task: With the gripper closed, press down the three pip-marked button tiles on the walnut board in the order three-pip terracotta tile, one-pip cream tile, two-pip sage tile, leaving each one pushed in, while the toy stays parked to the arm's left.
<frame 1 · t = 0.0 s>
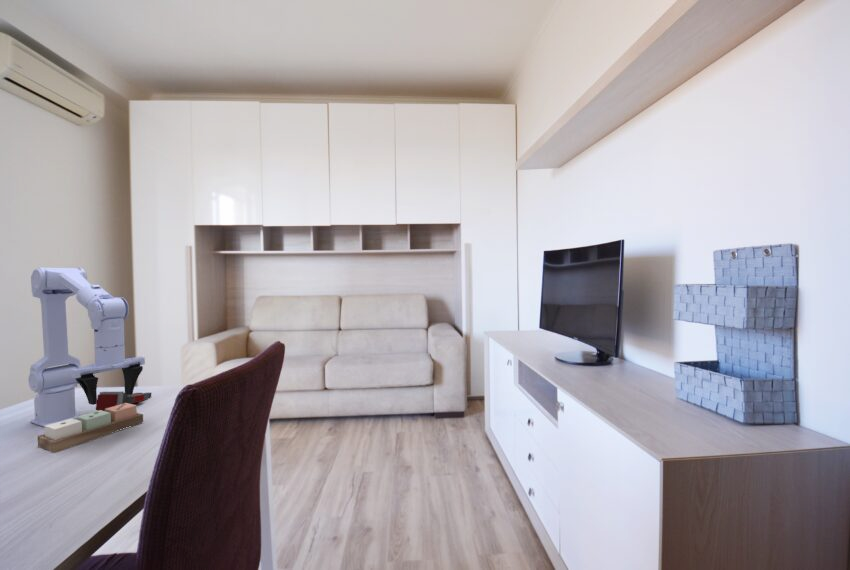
hand: (111, 398, 91), 10 cm above the table, tool pointing down, fingers open, 7 cm apart
toy: (125, 406, 115), on the table
board: (94, 433, 94), on the table
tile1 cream: (63, 430, 89), point 3 cm above the table, slide at 0.0 cm
tile3 terracotta: (121, 412, 100), point 3 cm above the table, slide at 0.0 cm
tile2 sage: (94, 421, 94), point 3 cm above the table, slide at 0.0 cm
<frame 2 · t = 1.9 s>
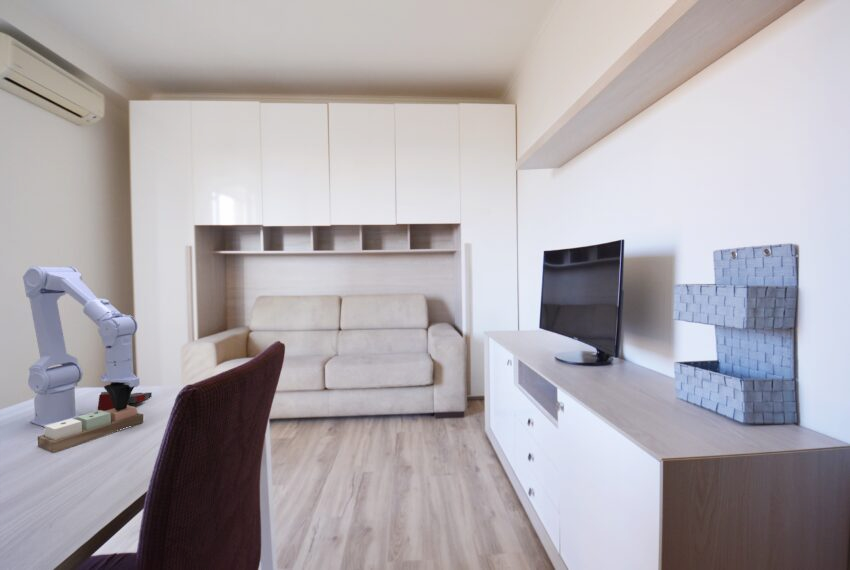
hand: (121, 409, 100), 4 cm above the table, tool pointing down, fingers closed, pressing on tile3 terracotta
tile3 terracotta: (121, 415, 100), point 3 cm above the table, slide at 0.6 cm, touching gripper
everything else where it was.
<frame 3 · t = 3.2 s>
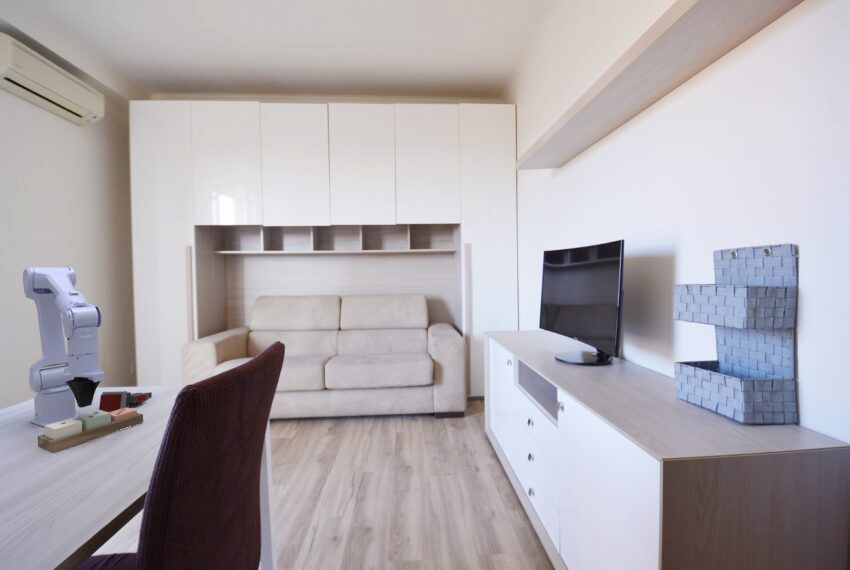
hand: (85, 406, 92), 8 cm above the table, tool pointing down, fingers closed
tile3 terracotta: (121, 417, 100), point 2 cm above the table, slide at 1.3 cm
everything else where it was.
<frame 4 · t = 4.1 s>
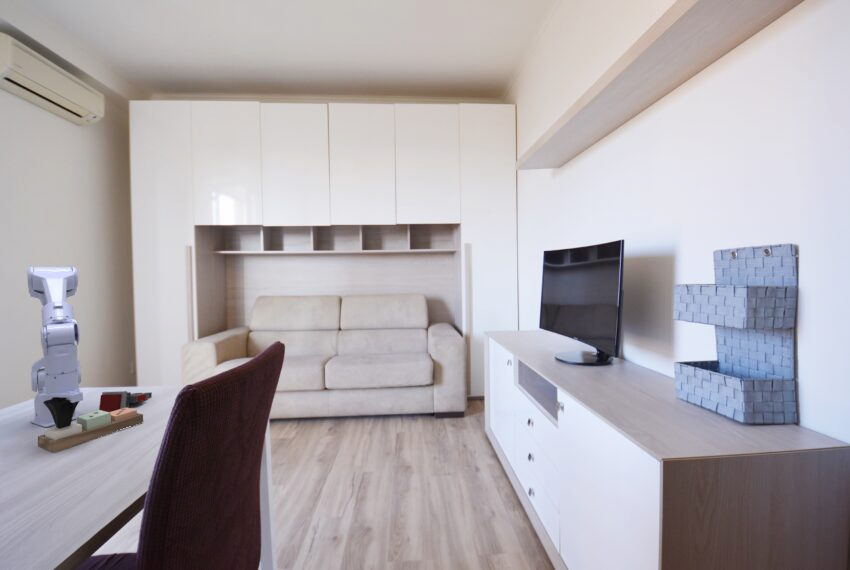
hand: (63, 426, 89), 4 cm above the table, tool pointing down, fingers closed, pressing on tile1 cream
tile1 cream: (63, 433, 89), point 2 cm above the table, slide at 0.9 cm, touching gripper
everything else where it was.
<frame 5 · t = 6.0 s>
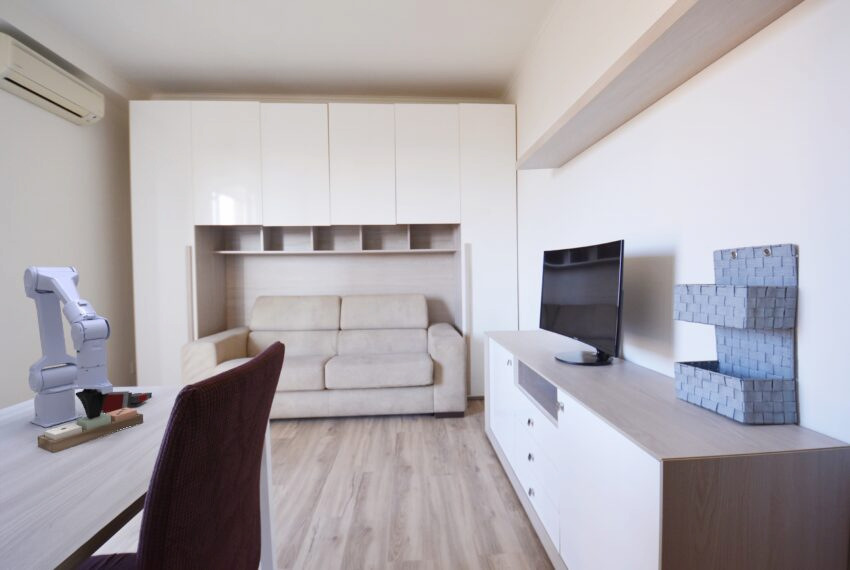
hand: (93, 417, 94), 4 cm above the table, tool pointing down, fingers closed, pressing on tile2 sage
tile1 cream: (63, 435, 89), point 2 cm above the table, slide at 1.3 cm
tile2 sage: (94, 423, 94), point 3 cm above the table, slide at 0.7 cm, touching gripper
everything else where it was.
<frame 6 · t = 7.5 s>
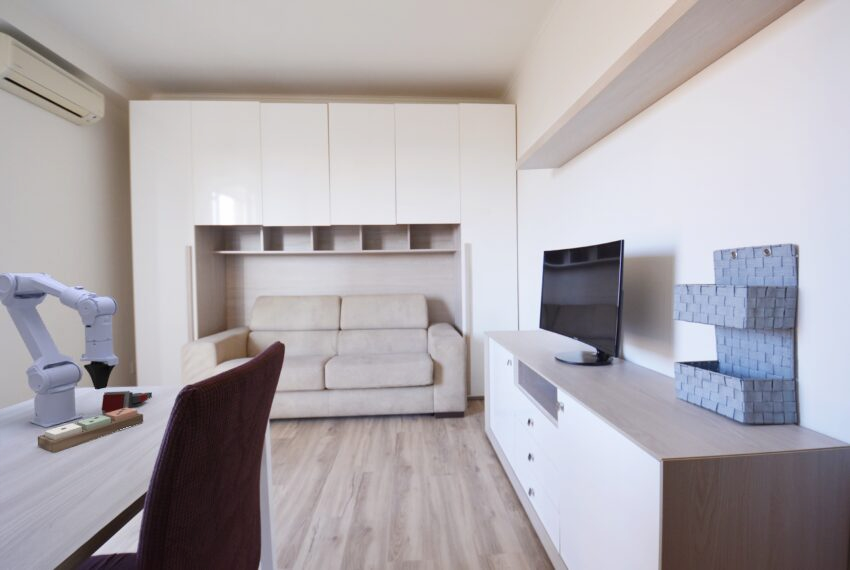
hand: (100, 388, 101), 10 cm above the table, tool pointing down, fingers closed
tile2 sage: (94, 426, 94), point 2 cm above the table, slide at 1.3 cm
everything else where it was.
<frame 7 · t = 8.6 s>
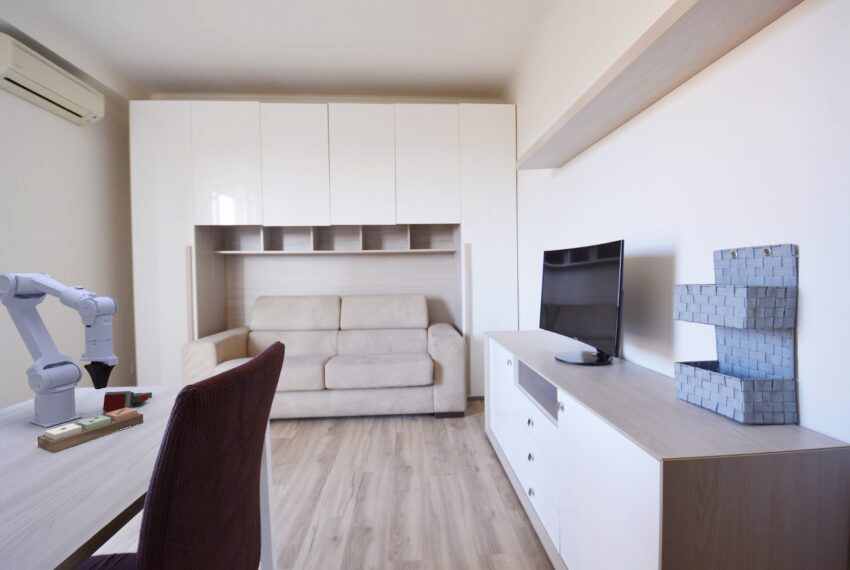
hand: (100, 388, 101), 10 cm above the table, tool pointing down, fingers closed
at the end: tile3 terracotta slide at 1.3 cm; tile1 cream slide at 1.3 cm; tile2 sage slide at 1.3 cm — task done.
